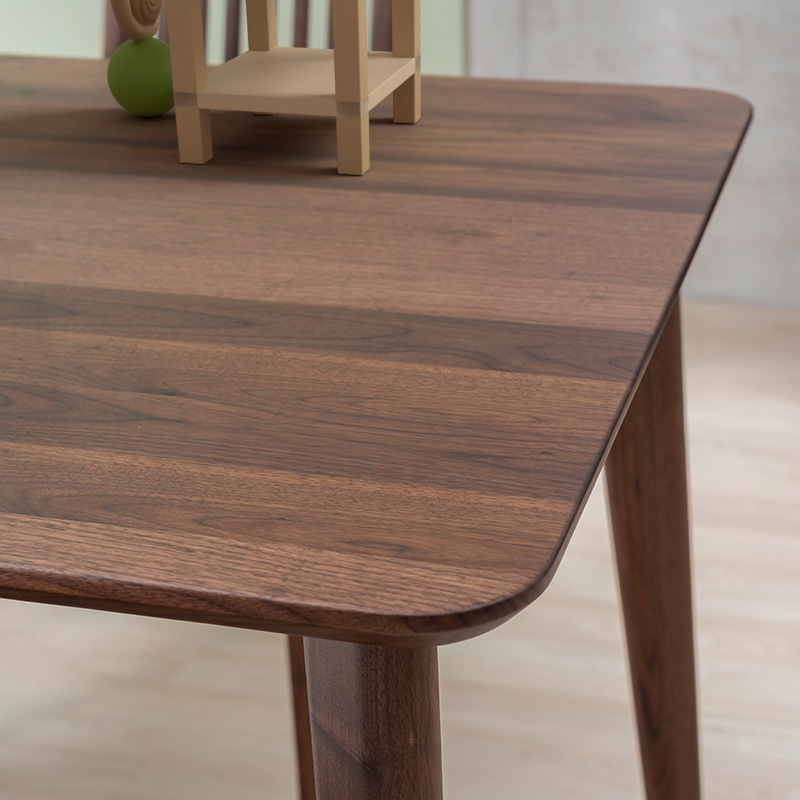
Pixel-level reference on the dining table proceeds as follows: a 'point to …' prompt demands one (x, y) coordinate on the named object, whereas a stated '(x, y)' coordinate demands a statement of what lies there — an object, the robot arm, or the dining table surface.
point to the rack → (296, 76)
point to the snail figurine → (141, 60)
